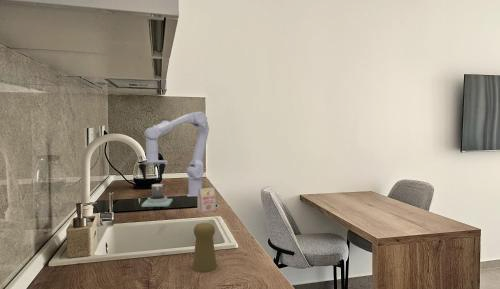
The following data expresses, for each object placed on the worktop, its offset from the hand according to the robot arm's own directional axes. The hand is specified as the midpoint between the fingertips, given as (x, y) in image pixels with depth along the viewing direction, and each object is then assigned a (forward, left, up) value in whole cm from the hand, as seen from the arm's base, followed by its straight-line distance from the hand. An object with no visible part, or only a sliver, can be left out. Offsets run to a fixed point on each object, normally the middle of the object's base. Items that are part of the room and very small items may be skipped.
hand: (152, 179), depth 170 cm
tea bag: (+27, +28, -11) cm, 40 cm away
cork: (+87, +31, -11) cm, 93 cm away
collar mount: (+9, +4, -10) cm, 14 cm away
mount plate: (+9, +4, -10) cm, 14 cm away
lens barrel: (+9, +4, -9) cm, 14 cm away
